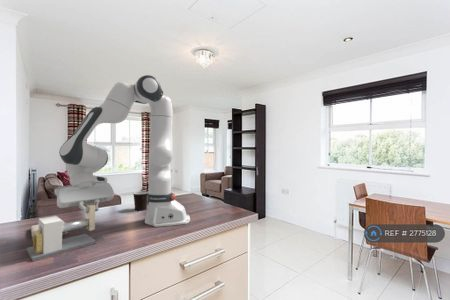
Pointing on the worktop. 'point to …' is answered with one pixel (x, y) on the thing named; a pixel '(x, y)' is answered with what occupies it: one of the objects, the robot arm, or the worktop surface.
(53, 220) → the bearing housing
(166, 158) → the robot arm
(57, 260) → the worktop surface
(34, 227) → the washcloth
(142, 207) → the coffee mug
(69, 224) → the shaft
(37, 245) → the brass collar
